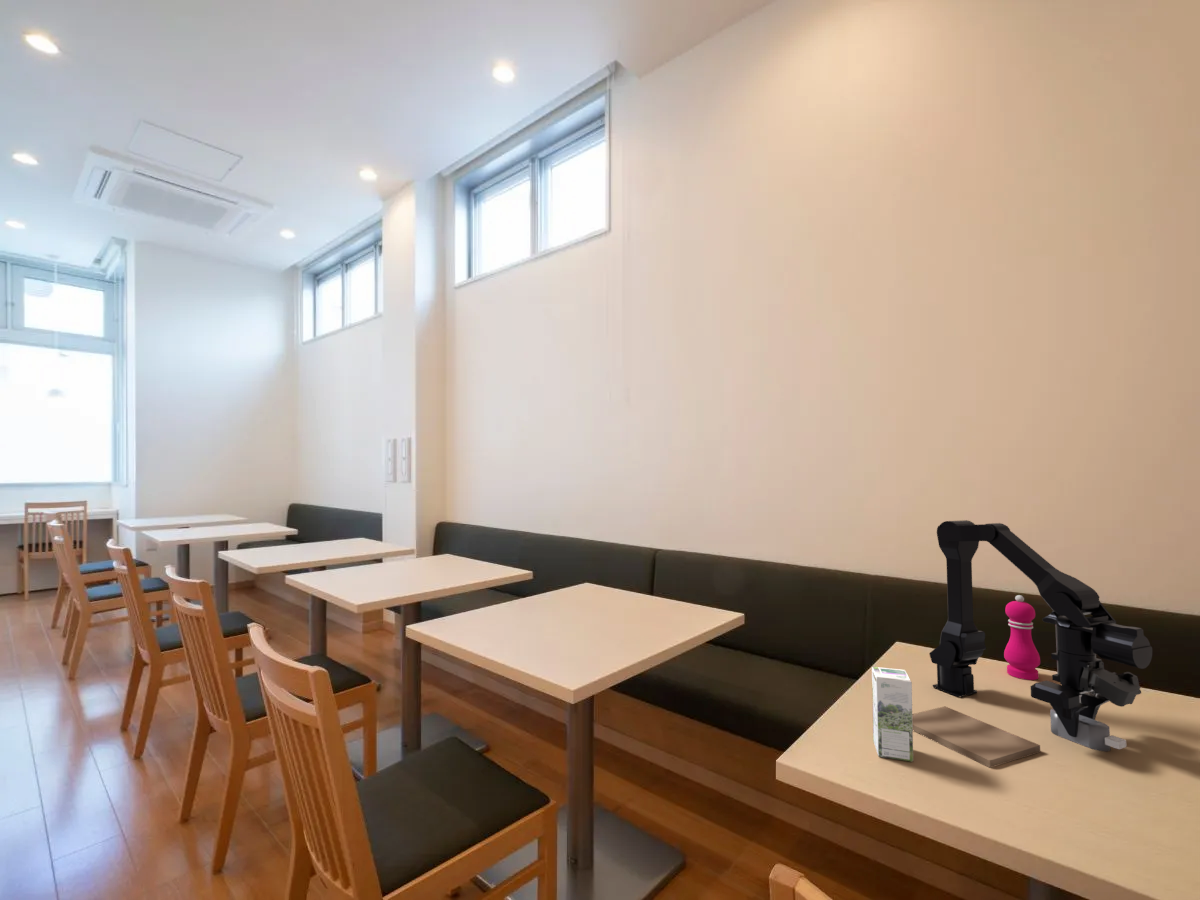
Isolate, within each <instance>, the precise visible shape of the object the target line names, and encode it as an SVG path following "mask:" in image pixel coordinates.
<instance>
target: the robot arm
mask: <svg viewBox="0 0 1200 900" xmlns="http://www.w3.org/2000/svg"><path fill="white" fill-rule="evenodd" d="M936 537H937V541H938V547H939V549H940V550H941V552H942V553H943V555H944V557H945V559H946V587H947V589H946V590H947V591H946V593H947V594H946V595H947V596H946V597H947V598H946V599H947V621H946V623H945V625H944V626H943V628H942V630H941V633H940V640H939V645H938V646H937V647H935V648H934V649H933V650H932V651H930V652H929V657H930V661H931V663H932V664H934V665H936V678H937V680H936V681H937V683H934V684H933V685H932V688H934V689H936V690H940V691H942V692H943V693H947V694H950V695H952V696H955V697H957V698H960V697H961V698H962V697H965V696H970V695H974V694H978V690H976V689H975V680H974V679H975V678H974V677H975V676H974V674H973V669H972V666H973V665H975V666H976V665H977V662H978V659H979V658H981V657H982V656H983V654H984V650H987V647H986V643H985V640H986V633H985V631H982V630H979V629H978V627H977V626H976V625H975V622H974V603H973V601H974V597H973V570H972V568H973V567H972V565H973V564H972V562H973V561H972V560H973V558H974V556H975V554H976V552H977V551H978V549H979V546H980V545H979V544H980V542H988V543H989V544H990V545H991V546H992V547H994V549H996V550H997V551H998V553H1000V554H1001V555H1003V557H1005V559H1007V560H1008V561H1009V562H1011V564H1013V565H1014V566H1015V567H1016V568H1017V569H1018V570H1019V571H1020V572H1021V573H1023V575H1025V576H1026V577H1027V578H1028V579H1029V580H1030V581H1032V582H1033V584H1034V585H1035V586H1036V588H1037V590H1038V592H1039V595H1040V597H1041V598H1042V599H1043V600H1044V602H1045V603H1046V604H1047V605H1048V606H1049V608H1051V610H1052V611H1051V612H1050V614H1048V615H1046V616H1045V617H1043V618H1042V621H1043V623H1047V624H1052V625H1054V627H1055V644H1056V645H1055V648H1056V652H1051V653H1050V654H1051V657H1050V658H1051V659H1052V660H1054V661H1056V669H1057V671H1056V673H1055V674H1051V677H1052V681H1055V682H1052V681H1050V680H1042V681H1038V682H1035V683H1033V684H1032V685H1030V697H1031V698H1032V699H1036V700H1038V701H1041V702H1044V703H1047V704H1050V707H1052V709H1054V710H1055V712H1056V714H1057V715H1058V717H1059V719H1060V721H1061V722H1062V724H1063V726H1064V727H1065V729H1066V731H1067V733H1068V734H1069V735H1070V736H1072V737H1076V736H1077V731H1078V723H1079V715H1082V716H1085V717H1088V718H1091V719H1093V720H1096V718H1097V714H1098V711H1099V709H1100V708H1101V706H1102V705H1104V704H1106V703H1108V702H1109V703H1112V704H1113V705H1115V706H1118V707H1125V706H1126V705H1132V704H1133V703H1134V701H1135V699H1136V697H1137V696H1138V695H1141V694H1142V690H1141V687H1142V686H1140V682H1139V678H1138V676H1137V675H1135V674H1134V673H1132V672H1130V671H1126V672H1122V673H1120V674H1117V672H1115V671H1114V672H1111V671H1109V670H1107V669H1105V665H1104V664H1105V663H1104V662H1103V660H1107V661H1110V662H1115V663H1118V664H1123V665H1126V666H1130V667H1134V668H1137V669H1142V670H1143V669H1146V668H1148V666H1150V663H1151V662H1152V659H1153V647H1152V646H1151V643H1150V641H1149V639H1148V637H1146V636H1145V634H1144V629H1143V628H1141V627H1136V626H1126V625H1122V624H1117V621H1116V619H1115V618H1114V617H1113V615H1111V613H1110V612H1109V611H1108V609H1106V607H1105V606H1104V605H1103V603H1102V602H1101V601H1100V596H1099V593H1098V592H1097V591H1096V590H1095V589H1094V588H1092V587H1091V586H1089V585H1088V584H1086V583H1084V582H1083V581H1081V580H1079V579H1078V578H1077V577H1074V576H1072V575H1069V574H1067V573H1065V572H1063V571H1061V570H1059V569H1058V568H1056V567H1055V566H1054V565H1052V563H1050V562H1049V561H1047V560H1046V559H1045V558H1044V557H1042V556H1041V554H1039V553H1038V552H1037V551H1035V550H1034V549H1033V548H1032V547H1031V546H1030V545H1028V544H1027V543H1026V542H1025V541H1023V540H1022V539H1021V538H1020V537H1019V536H1018V535H1016V534H1015V533H1014V532H1013V531H1011V529H1010V527H1009V526H1008V525H1006V524H1004V523H1003V522H1002V523H1001V522H995V523H993V522H992V523H985V524H976V523H974V522H972V521H971V520H967V519H966V520H965V519H964V520H963V519H962V520H948V521H947V520H946V521H943V522H941V523H940V524H939V525H938V526H937V528H936ZM1086 615H1090V616H1086ZM1097 656H1098V657H1099V658H1097ZM1102 659H1103V660H1102ZM971 665H972V666H971ZM1056 682H1058V683H1060V684H1058V683H1056Z"/></svg>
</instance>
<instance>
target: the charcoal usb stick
mask: <svg viewBox="0 0 1200 900" xmlns="http://www.w3.org/2000/svg"><path fill="white" fill-rule="evenodd" d="M1049 711H1050V712H1049V713H1050V715H1049V716H1050V732H1051V733H1052V734H1053V735H1055V736H1058V737H1060V738H1062V739H1065V740H1068V741H1070V742H1073V743H1075V744H1079V745H1081V746H1084V747H1086V748H1089V749H1092V750H1095V751H1099V752H1100V751H1101V752H1110V751H1111V748H1113V749H1117V750H1122V749H1124V748H1127V740H1126V739H1124V738H1121V737H1119V736H1116V735H1111V733H1110V732H1111V731H1110V726H1109V725H1108V724H1106V723H1105V722H1102V721H1100V720H1096V719H1095V720H1093V719H1091V718H1088V717H1085V716H1082V715H1079V723H1078V731H1077V736H1076V737H1072V736H1070V735H1069V734H1068V733H1067V731H1066V729H1065V727H1064V726H1063V724H1062V722H1061V721H1060V719H1059V717H1058V715H1057V714H1056V712H1055V710H1054V709H1053V708H1051V709H1050V710H1049Z"/></svg>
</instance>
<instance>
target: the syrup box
mask: <svg viewBox="0 0 1200 900" xmlns="http://www.w3.org/2000/svg"><path fill="white" fill-rule="evenodd" d="M871 684H872V685H871V686H872V688H871V691H872V694H871V695H872V738H873V740H872V741H873V744H874V747H875V751H876V753H877V756H878V757H880V758H886V759H891V760H892V759H893V760H898V761H906V762H914V741H913V740H914V734H913V733H914V731H913V726H912V714H913V683H912V681H911V679H910V677H909V675H908V673H907V671H906V669H899V668H891V667H890V668H888V667H879V666H872V667H871Z"/></svg>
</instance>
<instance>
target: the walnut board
mask: <svg viewBox="0 0 1200 900" xmlns="http://www.w3.org/2000/svg"><path fill="white" fill-rule="evenodd" d="M912 726H913V730H914V731H913V732H915V731H916V732H915V733H917V732H918V733H917V734H919V733H920V734H919V735H921V734H922V735H921V736H923V735H924V736H923V737H925V736H926V737H925V738H927V737H928V738H927V739H929V740H931V739H932V740H931V741H933V740H934V742H935V741H936V743H937V742H938V744H939V745H942V746H943V747H946V748H948V749H950V750H952V751H954V752H957V753H958V754H961V755H963V757H964V756H965V757H966V758H969V759H971V760H973V761H974V762H977V763H979V764H981V765H984V766H986V767H988V768H994V767H997V766H999V765H1003V764H1006V763H1010V762H1012V761H1015V760H1016V761H1017V760H1019V759H1022V758H1025V757H1029V756H1031V755H1035V754H1038V753H1041V745H1040V744H1039V743H1035V742H1033V741H1031V740H1028V739H1026V738H1023V737H1021V736H1019V735H1016V734H1013V733H1011V732H1008V731H1006V730H1004V729H1001V728H999V727H997V726H994V725H992V724H989V723H987V722H984V721H982V720H979V719H977V718H975V717H972V716H970V715H967V714H965V713H963V712H960V711H958V710H955V709H953V708H951V707H948V706H941V707H936V708H931V709H927V710H922V711H919V712H914V713H912Z"/></svg>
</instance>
